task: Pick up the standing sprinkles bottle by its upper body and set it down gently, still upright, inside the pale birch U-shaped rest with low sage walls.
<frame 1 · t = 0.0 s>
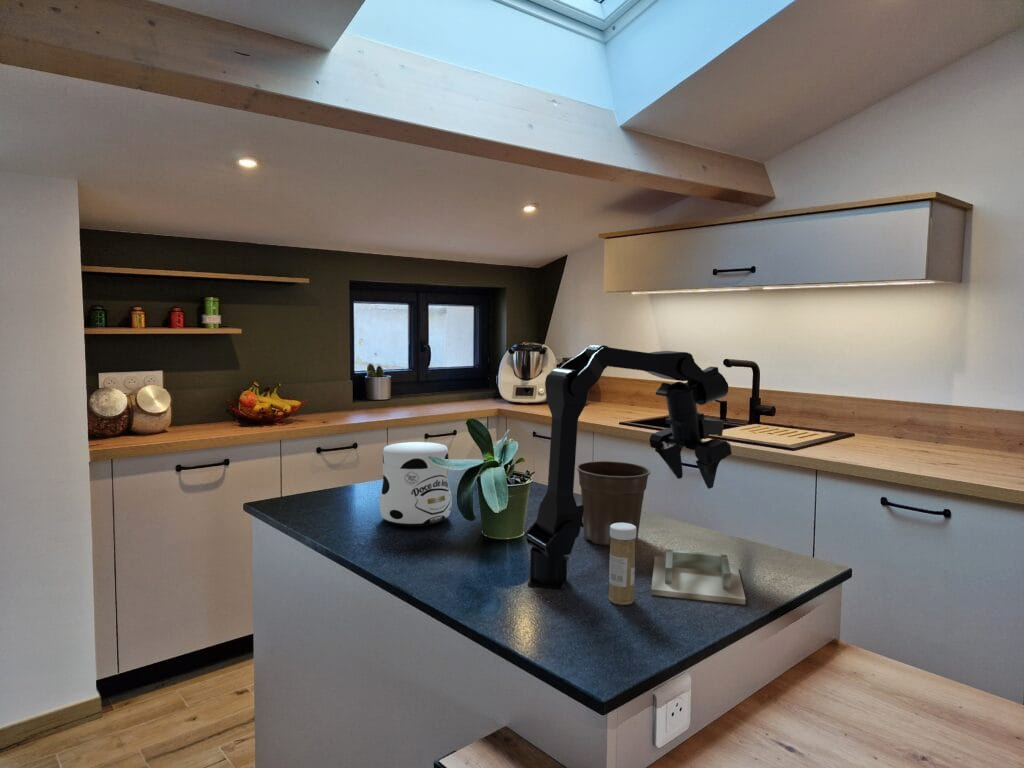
hand: (694, 483, 141), 15 cm above the table, tool pointing down, fingers open, 9 cm apart
doce de leite jar: (415, 521, 164), on the table
u rest: (696, 582, 127), on the table
plant pot: (611, 539, 153), on the table
sprinkles bottle: (621, 601, 119), on the table
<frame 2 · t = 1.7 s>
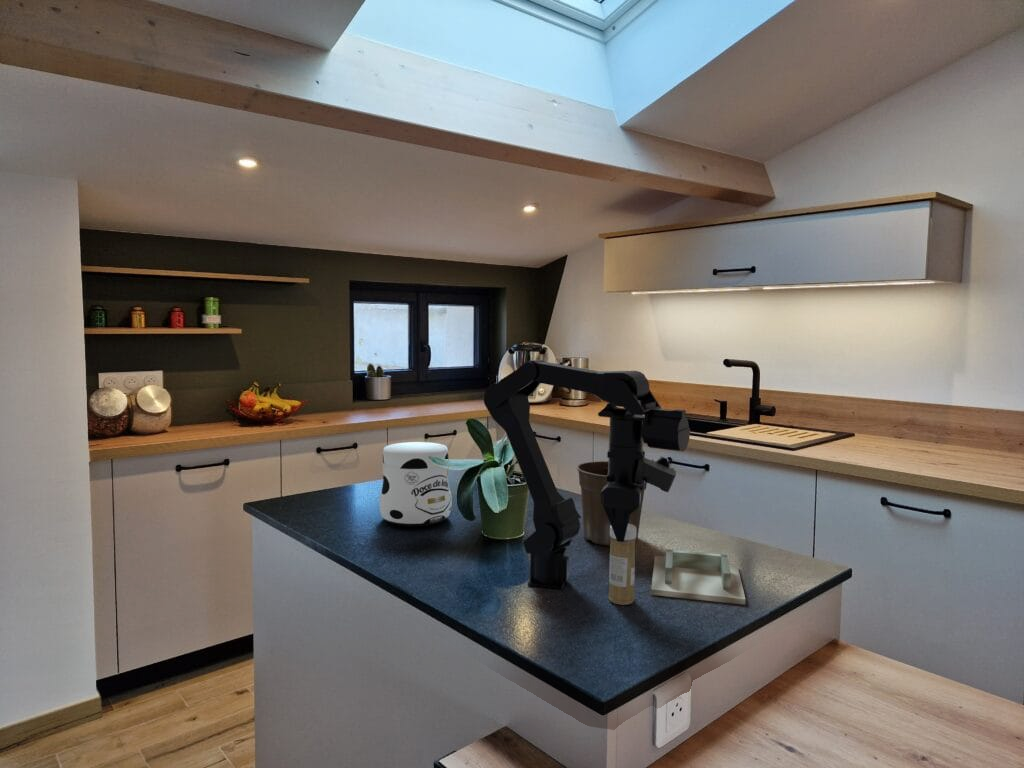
hand: (622, 533, 118), 12 cm above the table, tool pointing down, fingers open, 9 cm apart
nothing on the table moved.
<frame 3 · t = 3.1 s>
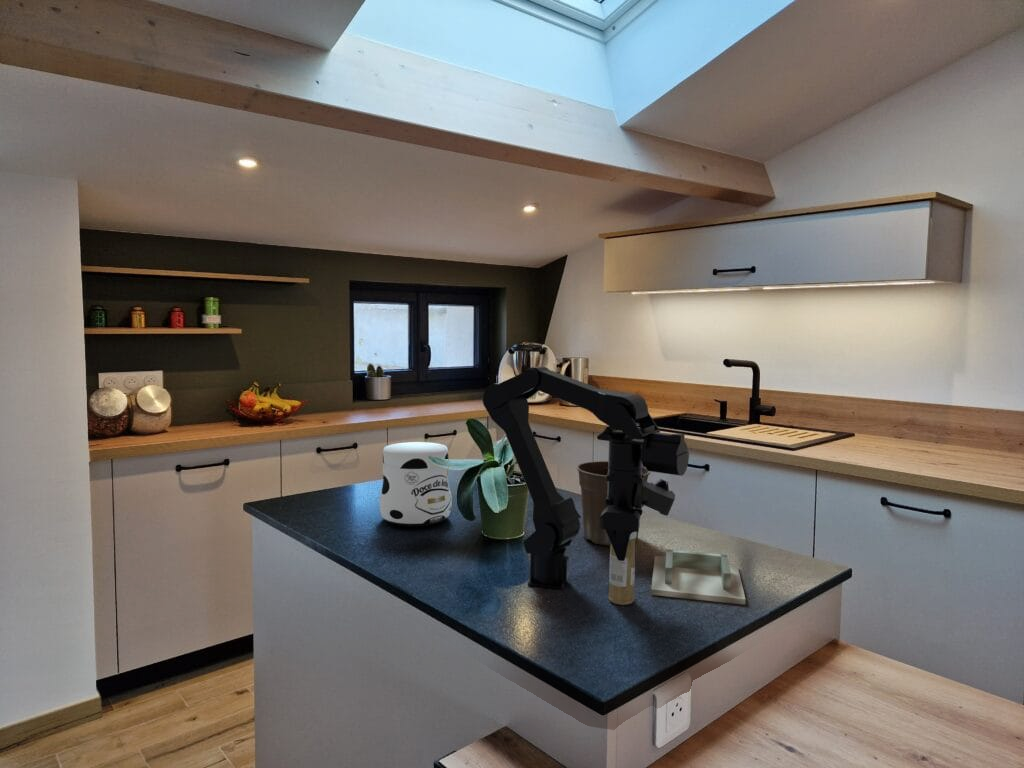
hand: (622, 555, 118), 8 cm above the table, tool pointing down, fingers closed on sprinkles bottle, 4 cm apart
sprinkles bottle: (621, 601, 119), on the table, touching gripper
everything else where it was.
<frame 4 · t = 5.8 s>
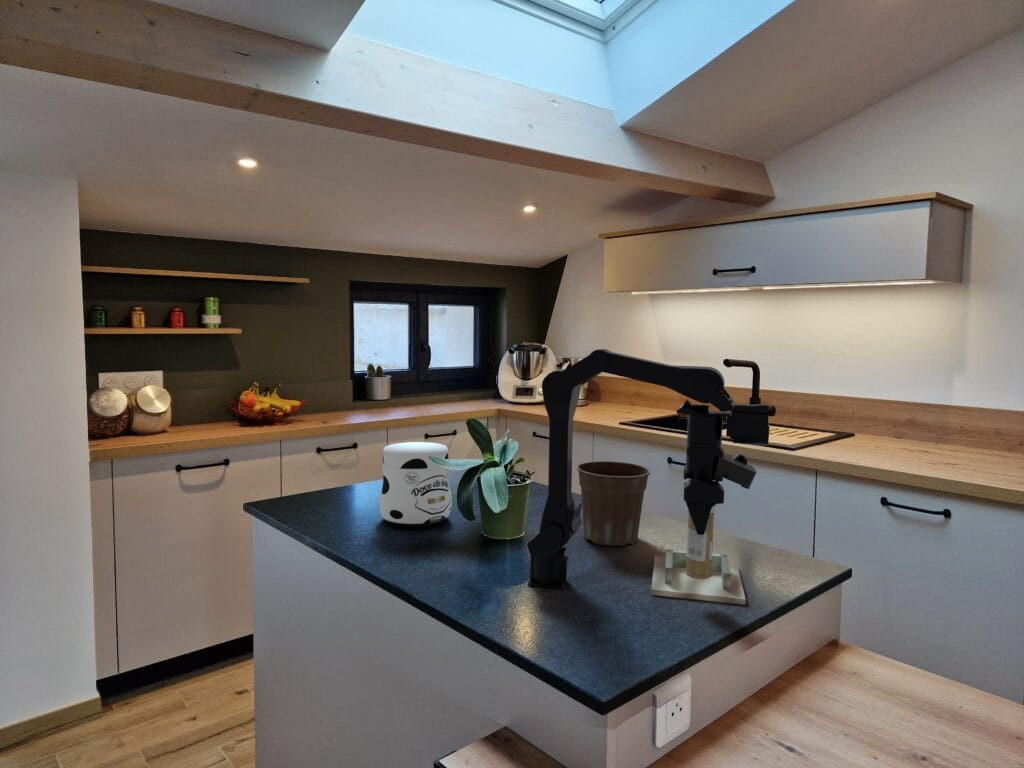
hand: (700, 530, 117), 13 cm above the table, tool pointing down, fingers closed on sprinkles bottle, 4 cm apart
sprinkles bottle: (698, 576, 118), point 5 cm above the table, touching gripper
everything else where it was.
when the fingers open (10 cm above the table, at t = 8.4 s): sprinkles bottle drops 1 cm, resting on u rest.
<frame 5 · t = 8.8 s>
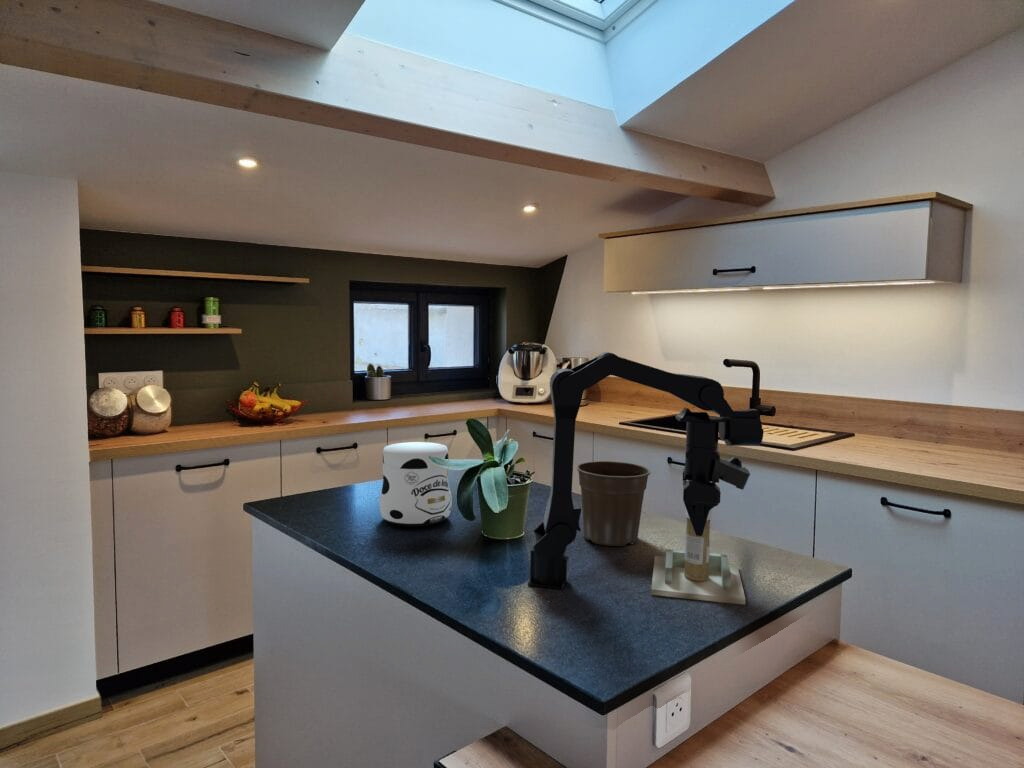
hand: (698, 528, 126), 10 cm above the table, tool pointing down, fingers open, 9 cm apart
sprinkles bottle: (695, 578, 127), point 1 cm above the table, touching u rest
everything else where it was.
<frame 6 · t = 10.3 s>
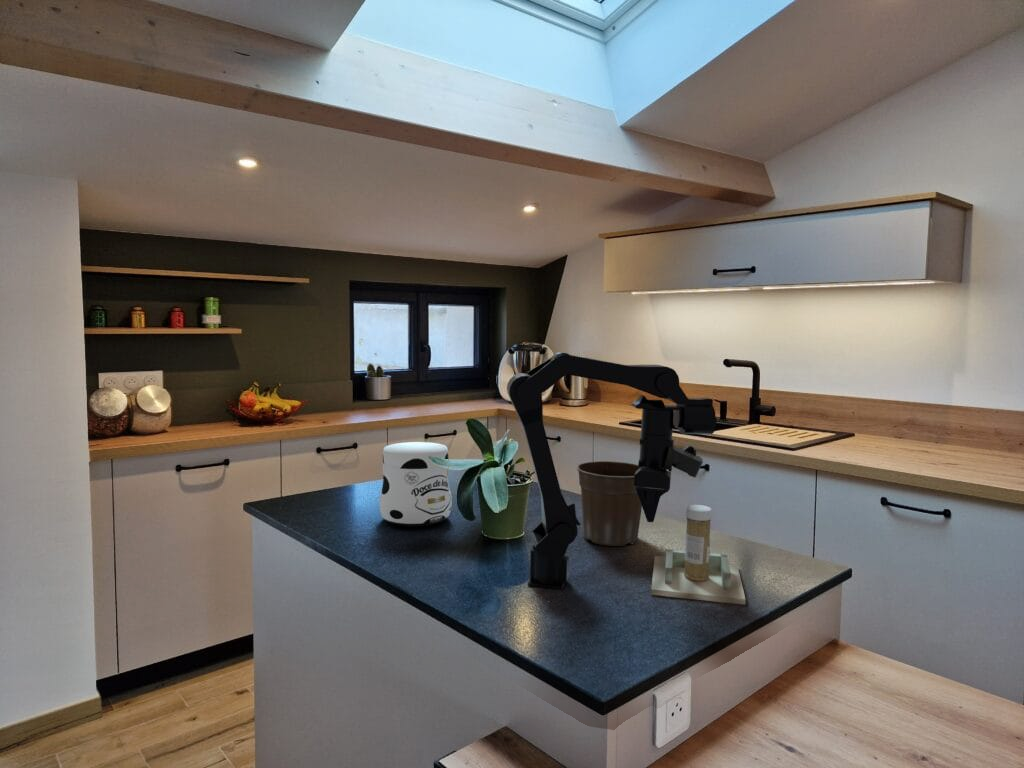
hand: (651, 515, 127), 13 cm above the table, tool pointing down, fingers open, 9 cm apart
nothing on the table moved.
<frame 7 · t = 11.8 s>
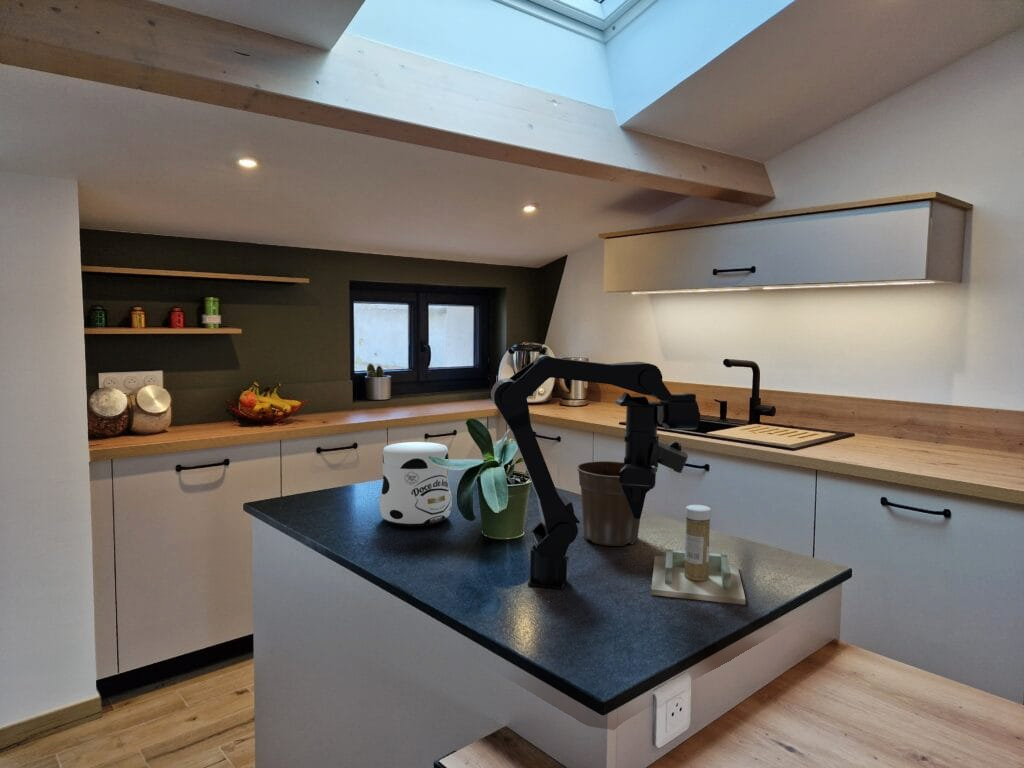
hand: (638, 511, 128), 13 cm above the table, tool pointing down, fingers open, 9 cm apart
nothing on the table moved.
at the end: sprinkles bottle 0.1 cm off-centre on the u rest, point 0.8 cm above the u rest's base; sprinkles bottle tilted 0°; the gripper is holding nothing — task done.
